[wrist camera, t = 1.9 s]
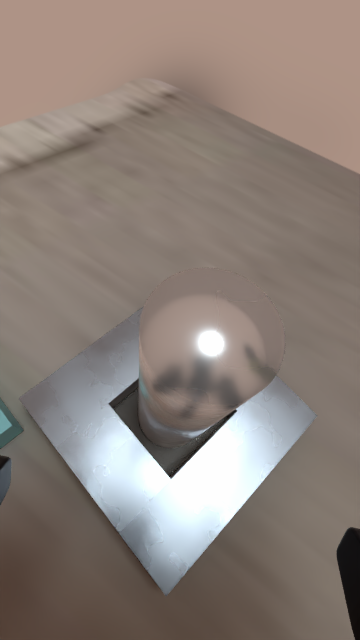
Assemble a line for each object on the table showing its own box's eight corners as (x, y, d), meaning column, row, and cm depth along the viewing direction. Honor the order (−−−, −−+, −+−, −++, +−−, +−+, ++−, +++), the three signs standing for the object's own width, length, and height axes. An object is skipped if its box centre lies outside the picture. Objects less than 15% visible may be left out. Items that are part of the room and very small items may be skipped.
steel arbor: (168, 463, 19) (214, 440, 8) (124, 411, 20) (107, 321, 9) (215, 416, 21) (314, 337, 9) (172, 369, 22) (212, 245, 10)
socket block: (163, 583, 17) (166, 596, 15) (29, 405, 20) (18, 398, 18) (302, 420, 21) (317, 415, 20) (176, 294, 24) (179, 280, 23)
